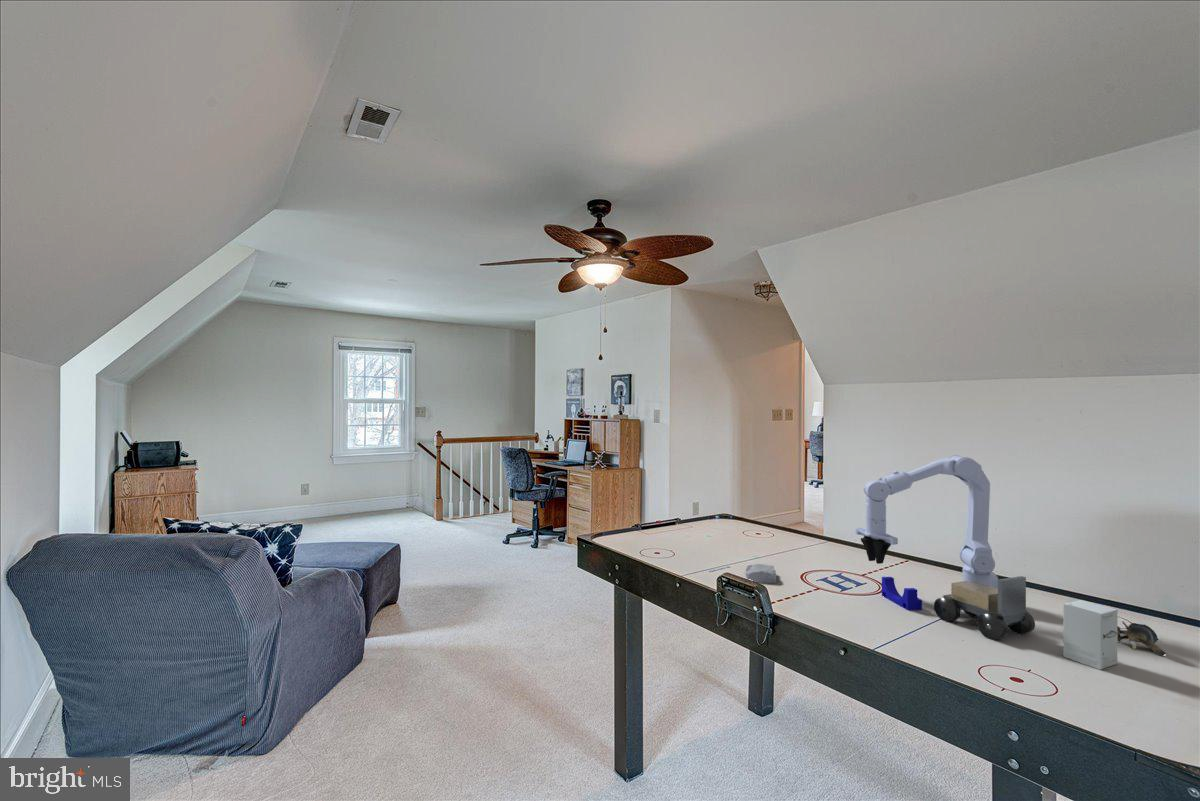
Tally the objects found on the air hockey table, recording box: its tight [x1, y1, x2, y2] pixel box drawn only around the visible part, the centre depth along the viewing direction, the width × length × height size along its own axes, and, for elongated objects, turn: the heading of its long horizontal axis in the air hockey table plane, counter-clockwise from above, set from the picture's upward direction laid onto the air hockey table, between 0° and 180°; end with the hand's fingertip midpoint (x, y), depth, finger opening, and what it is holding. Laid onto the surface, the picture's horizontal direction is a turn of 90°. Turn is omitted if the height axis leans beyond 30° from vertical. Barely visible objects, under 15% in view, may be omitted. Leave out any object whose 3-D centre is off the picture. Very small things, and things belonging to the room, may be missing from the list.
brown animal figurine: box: [1117, 620, 1167, 656], centre depth 131 cm, size 8×7×9 cm
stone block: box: [744, 563, 777, 584], centre depth 183 cm, size 12×5×10 cm
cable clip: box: [881, 576, 923, 611], centre depth 160 cm, size 12×4×6 cm, turn 6°
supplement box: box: [1062, 599, 1118, 671], centre depth 124 cm, size 7×7×13 cm
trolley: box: [933, 575, 1036, 640], centre depth 143 cm, size 13×18×15 cm
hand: (875, 561), depth 170 cm, fingers open, 2 cm apart
